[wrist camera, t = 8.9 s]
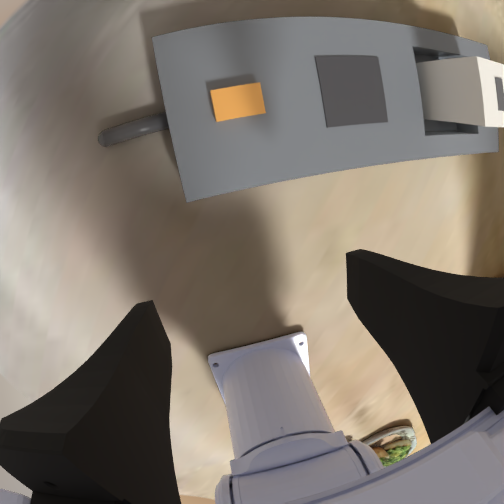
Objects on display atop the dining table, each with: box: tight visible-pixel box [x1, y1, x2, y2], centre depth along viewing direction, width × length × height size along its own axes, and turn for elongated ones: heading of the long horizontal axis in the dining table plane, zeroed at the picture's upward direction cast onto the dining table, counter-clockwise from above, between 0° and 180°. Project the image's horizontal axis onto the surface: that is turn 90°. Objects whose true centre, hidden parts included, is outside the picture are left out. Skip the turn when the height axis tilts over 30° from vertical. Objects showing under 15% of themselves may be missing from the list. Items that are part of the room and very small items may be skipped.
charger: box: [416, 56, 504, 127], centre depth 14 cm, size 4×4×7 cm
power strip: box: [98, 17, 499, 202], centre depth 16 cm, size 28×9×4 cm, turn 100°
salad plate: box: [362, 426, 417, 468], centre depth 36 cm, size 19×18×5 cm
